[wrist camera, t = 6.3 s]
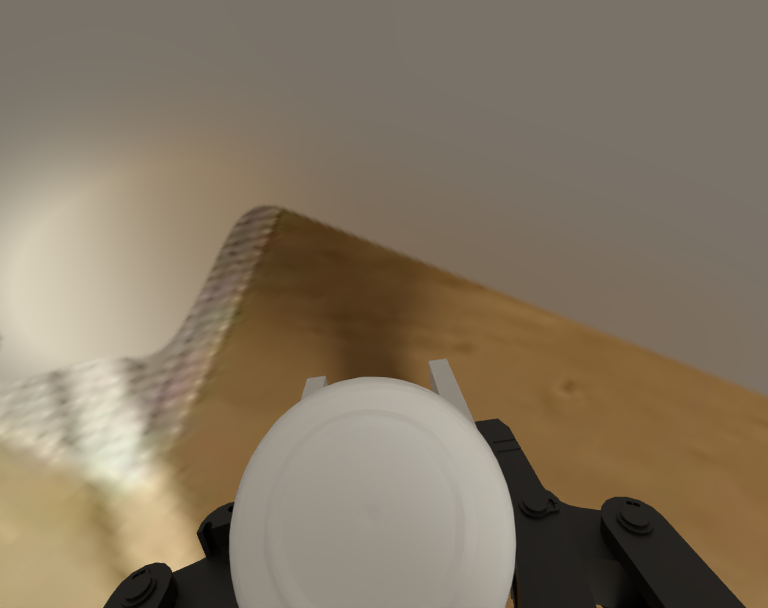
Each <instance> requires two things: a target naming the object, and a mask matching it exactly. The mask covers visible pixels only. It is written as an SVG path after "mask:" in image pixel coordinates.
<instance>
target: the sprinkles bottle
mask: <svg viewBox="0 0 768 608" xmlns="http://www.w3.org/2000/svg"><path fill="white" fill-rule="evenodd" d="M229 544H230V546H229V556H230V567H231V577H232V582H233V587H234V591H235V596H236V600H237V603H238V606H239V608H505V606H506V602H507V599H508V596H509V592H510V589H511V585H512V580H513V574H514V567H515V553H516V533H515V522H514V513H513V507H512V502H511V498H510V494H509V490H508V487H507V483H506V481H505V478H504V476H503V473H502V471H501V468H500V466H499V464H498V461H497V459H496V457H495V455H494V454H493V452H492V450H491V448H490V446H489V445H488V443H487V442H486V440H485V439H484V437H483V436H482V435H481V433H480V432H479V431H478V430H477V428H476V427H475V426H474V425H473V423H472V422H471V421H470V420H469V419H468V418H467V417H466V416H465V415H464V414H463V413H462V412H461V411H460V410H459V409H458V408H456V407H455V406H454V405H453V404H451V403H450V402H449V401H447V400H446V399H444V398H443V397H441V396H439V395H438V394H436V393H434V392H432V391H430V390H428V389H426V388H424V387H421V386H419V385H417V384H414V383H410V382H407V381H403V380H399V379H394V378H386V377H358V378H354V379H349V380H344V381H340V382H336V383H334V384H331V385H328V386H326V387H323V388H321V389H319V390H317V391H315V392H313V393H312V394H310V395H308V396H307V397H305V398H304V399H302V400H301V401H300V402H298V403H297V404H296V405H294V406H293V407H292V408H290V409H289V410H288V411H287V412H286V413H285V414H284V415H283V416H281V417H280V418H279V419H278V420H277V421H276V422H275V424H274V425H273V426H272V427H271V429H270V430H269V431H268V433H267V434H266V435H265V436H264V437H263V439H262V440H261V442H260V444H259V445H258V447H257V448H256V450H255V452H254V453H253V455H252V457H251V459H250V461H249V463H248V465H247V467H246V469H245V471H244V474H243V476H242V479H241V482H240V485H239V488H238V491H237V495H236V499H235V503H234V508H233V513H232V519H231V526H230V534H229Z"/></svg>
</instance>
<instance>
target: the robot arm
mask: <svg viewBox="0 0 768 608" xmlns="http://www.w3.org/2000/svg"><path fill="white" fill-rule="evenodd" d="M428 363H429V372H430V381H431V390H432V392H434V393H436V394H438V395H439V396H441V397H443V398H444V399H446V400H447V401H449V402H450V403H451V404H453V405H454V406H455V407H456V408H458V409H459V410H460V411H461V412H462V413H463V414H464V415H465V416H466V417H467V418H468V419H469V420H470V421H471V422H472V423H473V425H474V426H475V427H476V428H477V430H478V431H479V432H480V433H481V435H482V436H483V437H484V439H485V440H486V442H487V443H488V445H489V446H490V448H491V450H492V452H493V454H494V455H495V457H496V459H497V461H498V464H499V466H500V468H501V471H502V473H503V476H504V478H505V481H506V483H507V487H508V490H509V494H510V498H511V502H512V507H513V513H514V522H515V533H516V553H515V567H514V574H513V580H512V585H511V599H513V603H514V608H597V607H596V604H597V605H601V606H602V607H603V608H746V607H745V606H744V605H743V604H742V603H741V602H740V601H739V600H738V598H737V597H736V596H735V595H734V594H733V593H732V592H731V591H730V590H729V589H728V587H727V586H726V585H725V584H724V583H723V582H722V581H721V580H720V579H719V578H718V576H717V575H716V574H715V573H714V572H713V571H712V570H711V569H710V568H709V567H708V565H707V564H706V563H705V562H704V561H703V560H702V559H701V558H700V557H699V556H698V554H697V553H696V552H695V551H694V550H693V549H692V548H691V547H690V546H689V545H688V543H687V542H686V541H685V540H684V539H683V538H682V537H681V536H680V535H679V534H678V532H677V531H676V530H675V529H674V528H673V527H672V526H671V525H670V524H669V522H668V521H667V520H666V519H665V518H664V517H663V516H662V515H661V514H660V513H659V512H657V511H656V510H655V509H654V508H653V507H651V506H649V505H647V504H645V503H644V502H642V501H640V500H636V499H633V498H629V497H613V498H611V499H608V500H606V501H605V503H604V504H603V505H602V507H601V510H594V509H587V508H580V507H575V506H571V505H568V504H565V503H563V502H561V501H560V500H559V499H558V498H557V497H556V496H555V495H554V494H553V493H551V492H550V491H548V490H546V489H545V488H544V487H543V486H542V484H541V482H540V481H539V479H538V477H537V475H536V474H535V472H534V470H533V468H532V467H531V465H530V463H529V461H528V460H527V458H526V456H525V454H524V453H523V451H522V450H521V447H520V446H519V444H518V442H517V441H516V439H515V437H514V435H513V433H512V432H511V430H510V428H509V427H508V426H507V425H505V424H504V423H503V422H501V421H500V420H499V419H491V420H484V421H477V422H474V420H473V418H472V416H471V413H470V411H469V409H468V407H467V404H466V402H465V400H464V398H463V395H462V393H461V391H460V388H459V386H458V384H457V382H456V379H455V377H454V375H453V373H452V370H451V368H450V366H449V363H448V361H447V359H440V360H433V361H428ZM326 386H328V385H327V381H326V376H321V377H314V378H307V382H306V385H305V388H304V391H303V394H302V398H301V400H302V399H304V398H305V397H307V396H308V395H310V394H312V393H313V392H315V391H317V390H319V389H321V388H323V387H326ZM234 503H235V502H232V503H228V504H226V505H223V506H221V507H219V508H217V509H216V510H215V511H213V512H212V513H211V514H209V515H208V516H207V517H206V519H205V520H204V521H203V522H202V523H201V525H200V527H199V529H198V531H197V536H198V538H199V541H200V543H201V545H202V548H203V550H204V553H205V555H206V557H205V558H204V559H202V560H200V561H198V562H196V563H193V564H191V565H189V566H187V567H184V568H182V569H180V570H177V571H175V572H173V573H172V571H171V568H170V567H169V566H167V565H166V564H165V563H153V564H149V565H146V566H144V567H142V568H140V569H138V570H137V571H135V572H133V573H132V574H131V575H130V576H128V577H127V578H126V579H125V580H124V581H122V582H121V584H120V585H119V586H118V587H117V589H116V590H115V591H114V592H113V593H112V595H111V596H110V598H109V600H108V601H107V603H106V604H105V606H104V607H103V608H239V606H238V603H237V600H236V596H235V591H234V587H233V582H232V577H231V567H230V556H229V546H230V544H229V534H230V526H231V519H232V513H233V508H234Z"/></svg>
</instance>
